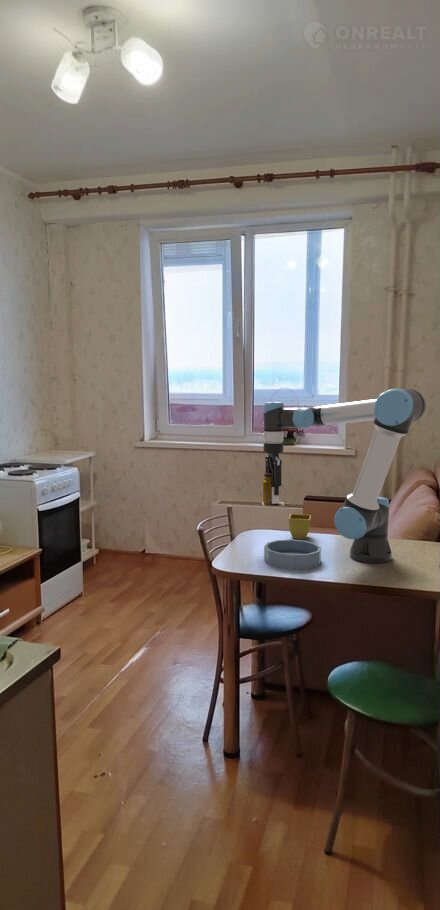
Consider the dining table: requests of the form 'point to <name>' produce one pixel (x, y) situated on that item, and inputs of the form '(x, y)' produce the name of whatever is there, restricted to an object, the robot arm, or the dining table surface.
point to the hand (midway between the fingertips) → (272, 501)
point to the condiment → (268, 491)
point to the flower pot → (299, 525)
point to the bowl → (292, 554)
